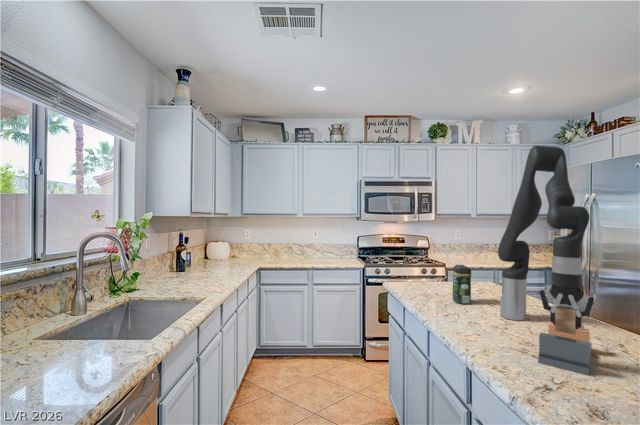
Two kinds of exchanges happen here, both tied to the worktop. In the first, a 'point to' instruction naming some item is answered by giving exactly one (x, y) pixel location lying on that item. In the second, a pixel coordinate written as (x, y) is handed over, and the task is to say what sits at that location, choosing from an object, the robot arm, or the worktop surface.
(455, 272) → the coffee jar
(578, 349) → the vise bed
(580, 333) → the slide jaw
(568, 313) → the walnut block
